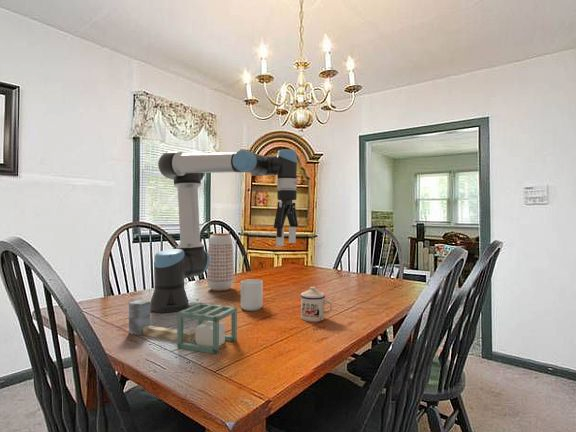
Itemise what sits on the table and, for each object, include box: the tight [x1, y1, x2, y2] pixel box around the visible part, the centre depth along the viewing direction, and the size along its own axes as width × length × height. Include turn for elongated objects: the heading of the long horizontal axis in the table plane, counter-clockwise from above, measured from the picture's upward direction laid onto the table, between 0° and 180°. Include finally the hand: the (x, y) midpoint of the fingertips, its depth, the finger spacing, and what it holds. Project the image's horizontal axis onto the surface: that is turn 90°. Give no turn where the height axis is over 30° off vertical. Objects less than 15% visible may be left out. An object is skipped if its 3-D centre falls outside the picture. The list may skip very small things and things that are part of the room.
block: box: [195, 320, 226, 347], centre depth 106 cm, size 6×6×6 cm
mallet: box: [128, 299, 196, 344], centre depth 112 cm, size 23×4×10 cm, turn 69°
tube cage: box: [176, 302, 238, 355], centre depth 106 cm, size 13×11×10 cm
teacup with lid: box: [300, 286, 334, 323], centre depth 132 cm, size 12×9×12 cm
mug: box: [240, 278, 264, 312], centre depth 147 cm, size 12×9×11 cm
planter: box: [206, 232, 235, 292], centre depth 180 cm, size 13×13×28 cm
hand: (286, 244), depth 139 cm, fingers open, 13 cm apart
